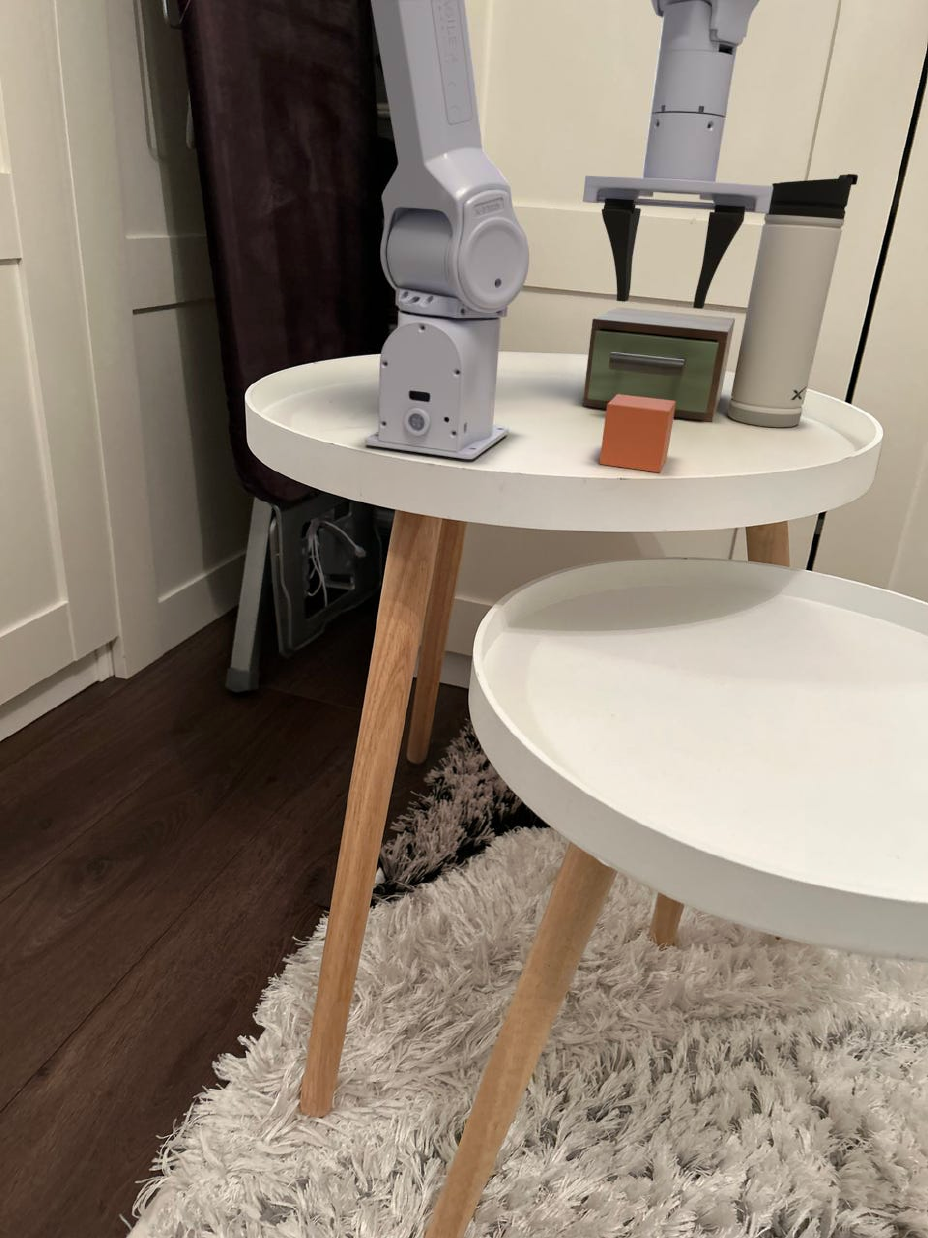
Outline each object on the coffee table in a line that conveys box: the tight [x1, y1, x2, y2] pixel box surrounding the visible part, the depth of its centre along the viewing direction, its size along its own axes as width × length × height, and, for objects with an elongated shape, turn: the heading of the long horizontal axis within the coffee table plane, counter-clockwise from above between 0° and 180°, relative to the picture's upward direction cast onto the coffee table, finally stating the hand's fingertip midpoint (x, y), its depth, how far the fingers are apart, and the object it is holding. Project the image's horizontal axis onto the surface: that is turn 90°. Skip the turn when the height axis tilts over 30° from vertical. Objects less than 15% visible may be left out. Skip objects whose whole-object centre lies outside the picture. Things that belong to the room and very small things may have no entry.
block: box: [599, 394, 676, 473], centre depth 62 cm, size 4×4×4 cm
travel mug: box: [727, 173, 859, 428], centre depth 75 cm, size 6×7×20 cm
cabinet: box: [582, 307, 736, 423], centre depth 83 cm, size 14×12×8 cm
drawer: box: [588, 330, 719, 413], centre depth 79 cm, size 17×10×6 cm, turn 162°
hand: (660, 304), depth 73 cm, fingers open, 6 cm apart
